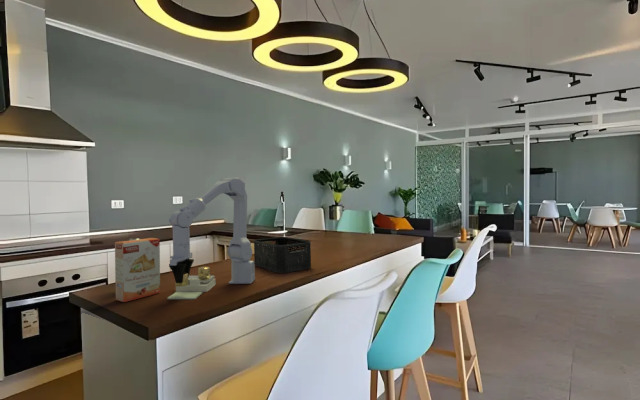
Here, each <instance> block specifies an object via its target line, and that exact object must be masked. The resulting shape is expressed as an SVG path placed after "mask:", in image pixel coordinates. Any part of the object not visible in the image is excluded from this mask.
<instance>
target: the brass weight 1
mask: <svg viewBox="0 0 640 400" xmlns="http://www.w3.org/2000/svg"><path fill="white" fill-rule="evenodd" d="M174 283H175V284H174V285H175V287H176V286H186V285H188V273H184V275H183V282H182V283H176V281H174Z"/></svg>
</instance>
